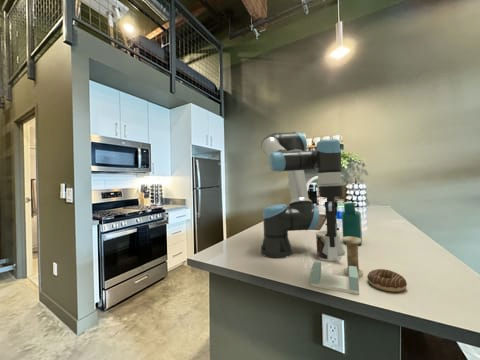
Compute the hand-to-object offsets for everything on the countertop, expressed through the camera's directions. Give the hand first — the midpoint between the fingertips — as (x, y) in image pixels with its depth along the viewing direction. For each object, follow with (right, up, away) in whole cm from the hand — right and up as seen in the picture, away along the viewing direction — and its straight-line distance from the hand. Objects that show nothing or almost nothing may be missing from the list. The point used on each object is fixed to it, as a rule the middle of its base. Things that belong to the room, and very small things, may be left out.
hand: (333, 252), depth 72 cm
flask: (0, 0, 0) cm, 0 cm away
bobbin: (+10, -10, +6) cm, 16 cm away
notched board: (0, -10, 0) cm, 10 cm away
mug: (+8, -10, +22) cm, 26 cm away
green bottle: (+29, -10, +41) cm, 51 cm away
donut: (+16, -10, -3) cm, 19 cm away
